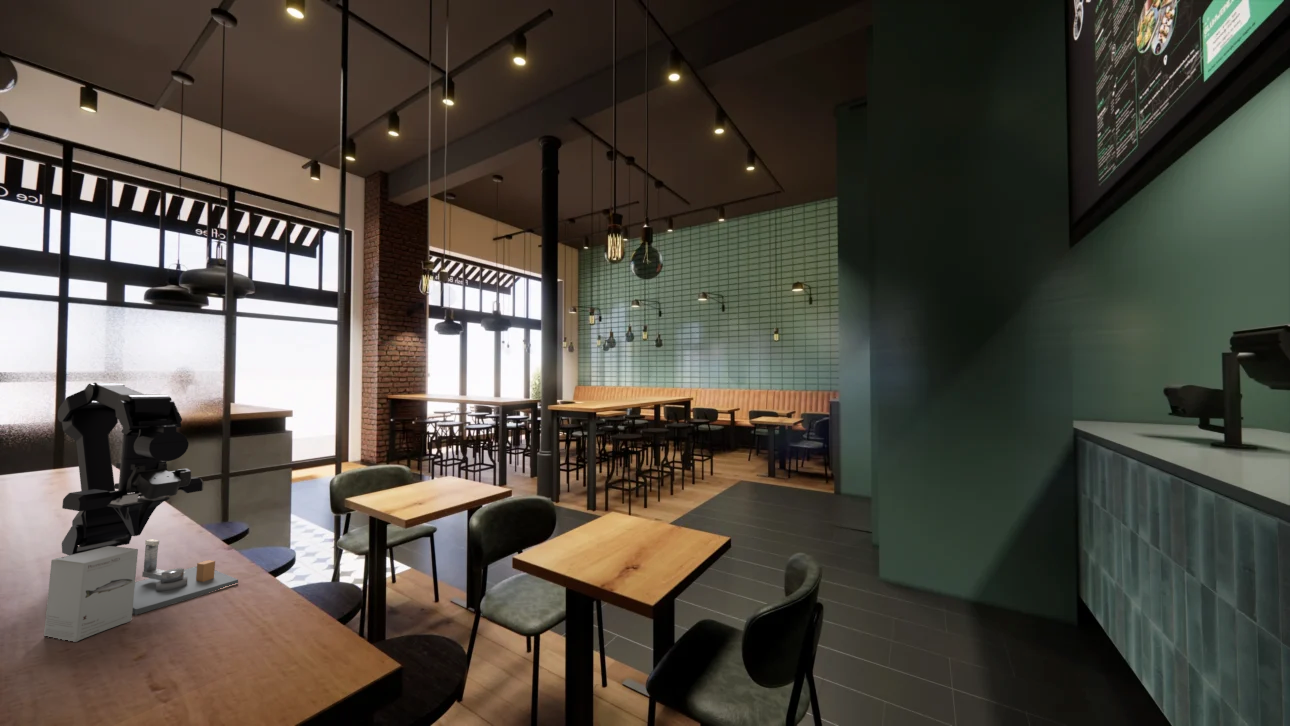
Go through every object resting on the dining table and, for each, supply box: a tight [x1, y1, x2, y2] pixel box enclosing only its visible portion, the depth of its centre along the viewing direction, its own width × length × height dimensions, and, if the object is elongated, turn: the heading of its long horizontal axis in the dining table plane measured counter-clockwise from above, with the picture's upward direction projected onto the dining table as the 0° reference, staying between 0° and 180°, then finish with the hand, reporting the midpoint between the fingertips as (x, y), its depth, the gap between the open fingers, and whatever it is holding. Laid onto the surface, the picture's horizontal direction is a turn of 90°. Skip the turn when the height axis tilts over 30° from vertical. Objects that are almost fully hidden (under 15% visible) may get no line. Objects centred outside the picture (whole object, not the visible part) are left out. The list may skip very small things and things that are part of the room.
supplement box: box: [43, 546, 139, 643], centre depth 79 cm, size 7×7×13 cm
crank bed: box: [132, 559, 239, 616], centre depth 94 cm, size 16×15×4 cm
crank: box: [141, 538, 185, 583], centre depth 94 cm, size 10×3×7 cm, turn 73°
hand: (135, 535), depth 93 cm, fingers closed
